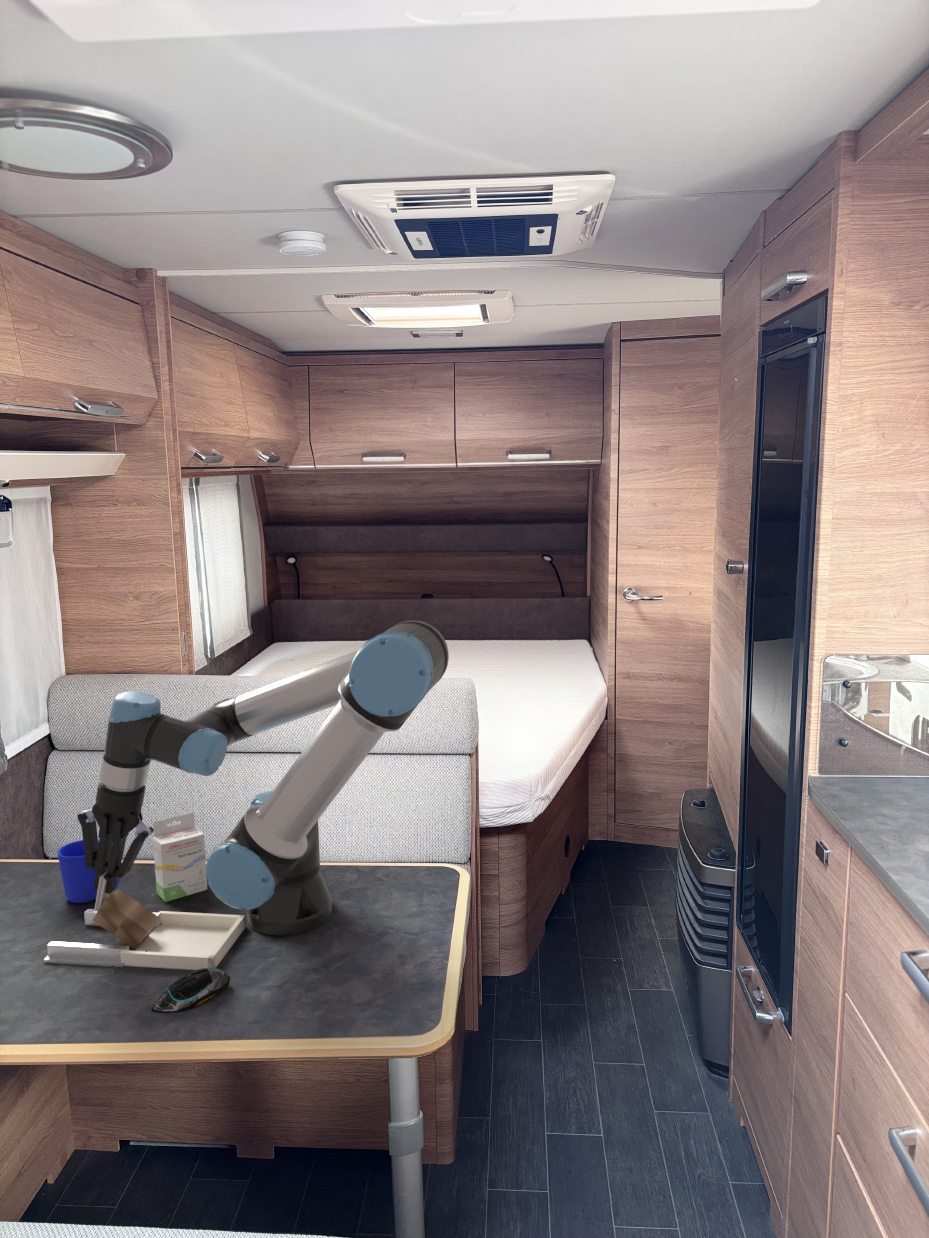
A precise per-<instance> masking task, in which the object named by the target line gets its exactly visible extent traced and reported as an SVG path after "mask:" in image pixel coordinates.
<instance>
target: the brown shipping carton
mask: <svg viewBox="0 0 929 1238" xmlns="http://www.w3.org/2000/svg"><path fill="white" fill-rule="evenodd" d="M139 903H140V902H138V901H137V900H135V899H134V898H133V897H131V896H130V895H128V894H127V893H125V891H122V890H121V889H119V888H116V889H115V890H114V891H113V892H112V893H111V894H109V897H108V898H107V899H106V900H105V901H104V902H103V904H102V905H101V907H100V909H99V910H98V912H97V913H96V915H95V917H94V918H93V921H94V922H95V923H97V924H98V925H100V926H99V927H101V928H103V929H104V930H105V931H107V932H108V933H110V934H111V935H112V936H114V934H115V933H116V931H117V929H118V928H119V926H120V925H121V923H122V922H123V920H124V918H125V917H126V916H127V915H128V914H129V913H130V912H131V911H132V910H133V909H134V908H135V907H136V906H137V905H138V904H139Z"/></svg>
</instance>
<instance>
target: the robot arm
mask: <svg viewBox="0 0 929 1238" xmlns="http://www.w3.org/2000/svg"><path fill="white" fill-rule="evenodd" d="M448 665H449V647H448V644H447V642H446V640H445V638H444V636H443V635H442V634H441V632H440V631H439V630H438V629H437V628H436V627H434V626H432V625H431V624H429V623H427V622H425V621H421V620H406V621H401V622H398V623H396V624H395V625H393V626H392V627H390V628H388V629H387V630H385V631H384V632H382V633H380V634H377V635H375V636H373V637H371V638H369V639H367V640H366V641H364V643H363V645H361V647H360V648H359V649H357V650H354V651H352V652H348V653H347V654H344V655H342V656H339V657H336V658H333V659H331V660H329V661H326V662H322V663H321V664H318V665H315V666H313V667H310V668H307V669H304V670H302V671H299V672H296V673H294V674H292V675H289V676H287V677H284V678H281V679H279V680H276V681H274V682H271V683H268V684H265V685H263V686H259V687H257V688H255V689H253V690H250V691H247V692H245V693H242V694H240V695H237V696H235V697H228V698H224V699H222V700H220V701H217V702H215V703H214V704H212V706H210V707H208V708H207V709H205V710H203V711H201V712H199V713H198V714H195V715H194V716H192V717H189V718H188V719H186V720H183V719H179V718H175V717H172V716H169V715H167V714H164V713H161V710H162V709H161V700H160V699H159V698H158V697H155V695H153V694H151V693H149V692H148V693H147V692H143V691H135V690H134V691H133V690H132V691H125V692H124V691H123V692H122V693H119V694H117V695H116V696H115V697H114V698H113V701H112V705H111V709H110V714H109V717H108V718H107V721H108V723H107V726H108V727H107V731H106V739H105V746H104V751H103V757H102V762H101V767H100V772H99V775H98V776H99V777H98V778H99V781H98V783H97V788H96V789H97V791H96V795H95V803H94V804H93V806H92V807H91V808H86V809H84V810H83V811H81V812H80V813H79V814H77V817H76V818H77V820H78V822H79V824H80V826H81V832H82V833H81V834H82V840H83V845H84V854H85V864H86V867H87V868H89V869H90V868H91V869H93V870H94V871H95V873H96V874H95V880H94V886H93V887H94V890H97V897H96V899H95V903H94V904H95V905H94V908H93V909H94V911H98V910H99V909H100V907H101V905H102V904H103V902H104V901H105V900H106V899H107V898H108V897H109V896H110V895H111V894H113V893H114V892H115V891H116V889H117V888H116V883H117V877H119V878H120V879H122V878H123V877H124V876H125V875H127V874H128V873H130V871H131V869H132V867H133V865H134V863H135V861H136V859H137V857H138V855H139V853H140V851H141V849H142V847H143V846H144V843H145V842H146V839H147V838H148V837H150V835H151V834H152V833H153V834H154V830H153V826H147V825H146V824H145V823H144V822H143V819H144V817H143V814H142V808H143V805H144V800H145V799H144V798H145V794H146V788H147V787H146V784H147V782H148V776H149V769H150V764H151V761H156V762H158V763H161V764H164V765H167V766H170V767H173V768H175V769H177V770H178V769H179V770H181V771H184V772H185V773H188V774H195V775H200V776H203V777H210V776H212V775H214V774H216V772H217V771H218V770H219V767H221V766H222V765H223V762H224V760H225V757H226V755H227V750H228V747H229V746H230V745H232V744H234V743H237V742H240V741H243V740H246V739H248V738H251V737H253V736H255V735H258V734H260V733H263V732H266V731H268V730H271V729H275V728H278V727H279V726H283V725H285V724H288V723H291V722H294V721H296V720H299V719H302V718H304V717H308V716H310V715H313V714H316V713H317V712H321V711H324V710H327V709H330V708H332V707H334V708H333V709H331V711H330V713H329V714H328V716H327V717H326V719H325V720H324V721H323V723H322V724H321V725H320V726H319V728H318V730H317V731H316V732H315V733H314V735H313V736H312V738H311V739H310V740H309V742H308V743H307V745H305V746H304V748H303V750H302V751H301V753H299V755H298V756H297V758H296V759H295V761H294V762H293V763H292V765H291V766H290V767H289V768H288V770H287V771H286V772H285V774H284V776H283V777H282V779H280V780H279V783H278V784H277V785H276V786H275V788H274V789H273V790H271V791H266V792H265V791H264V792H261V793H259V794H256V795H254V796H253V797H252V798H251V800H250V805H249V808H248V809H247V810H246V812H245V813H244V814H243V815H242V817H241V819H240V820H239V821H238V823H237V824H236V825H235V827H234V828H233V829H232V831H231V832H230V833H229V834H228V836H227V837H226V838H225V839H224V841H223V842H222V843H220V844H218V845H217V846H215V847H214V848H213V850H212V851H211V853H210V855H209V857H208V858H207V859H206V877H207V880H208V881H207V885H208V886H209V888H210V889H211V891H212V893H213V894H214V895H215V897H216V898H217V899H219V900H220V901H221V902H222V903H224V904H225V905H226V906H228V907H231V908H233V909H236V910H246V914H247V923H248V925H249V926H250V929H252V930H254V931H256V932H257V933H261V934H264V935H268V936H283V937H284V936H293V935H299V934H302V933H306V932H309V931H312V930H314V929H317V928H319V927H320V926H322V925H323V924H324V923H326V922H327V921H328V920H329V918H330V917H331V916H332V912H333V911H332V910H333V908H332V907H333V905H332V904H333V903H332V897H331V894H330V892H329V890H328V887H327V883H326V882H325V879H324V877H323V875H322V871H321V858H320V857H321V856H320V836H319V835H320V833H319V819H320V818H321V817H322V815H323V814H324V813H325V812H326V810H327V808H328V807H329V806H330V805H331V804H332V802H333V801H334V800H335V798H336V797H337V796H338V794H339V793H340V792H341V790H343V788H344V786H345V785H346V784H347V782H348V781H349V780H350V778H351V777H352V776H353V775H354V774H355V772H356V771H357V769H358V768H359V767H360V765H361V764H362V763H363V761H364V760H365V759H366V757H368V755H369V753H370V752H371V751H372V750H373V748H374V747H375V746H376V744H377V743H378V742H379V741H380V739H381V738H382V737H383V735H384V734H385V733H388V732H398V731H399V730H400V729H401V727H402V726H403V725H404V724H405V723H406V722H407V720H408V719H409V717H410V716H411V715H412V714H413V712H414V711H415V709H416V708H417V707H418V706H419V704H420V703H421V702H422V701H423V700H424V698H425V697H426V696H427V694H428V693H429V692H430V691H431V690H432V688H434V687H435V685H437V683H438V682H439V681H441V679H442V678H443V676H444V674H445V673H446V670H447V668H448ZM97 825H98V826H97ZM97 827H99V829H98V828H97ZM134 829H136V830H135V833H134V839H133V840H132V842H131V843H130V846H129V847H128V849H127V851H126V854H125V856H124V851H125V847H126V841H127V839H128V836H129V834H130V832H131V831H132V830H134ZM98 838H99V839H98ZM98 840H99V845H98ZM115 888H116V889H115Z"/></svg>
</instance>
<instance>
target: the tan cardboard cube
mask: <svg viewBox="0 0 929 1238" xmlns="http://www.w3.org/2000/svg"><path fill="white" fill-rule="evenodd" d="M138 903H139V904H138V905H137V906H136V907H135V908H134V909H133V910H132V911H131V912H130V913H129V914H128V915H127V916H126V917H125V918H124V920H123V922H122V923H121V925H120V926H119V928H118V929H117V931H116V933H115V934H114V935H113V936H114V937H116V939H118V940H120V941H121V942H122V943H124V945H125V944H126V946H129V948H131V949H132V950H133V951H135V950H136V949H137V948H138V947H139V946H140V944H141V943H142V942H143V941H144V940H145V939H146V938H147V937H148V936H149V935H150V934H151V933H152V931H153V930H154V927H155V925H156V924H157V922H158V921H159V919H160V918H159V917H158V916H157V915H155V914H154V913H152V912H153V911H152V910H150V909H148V908H146V907H145V906H144V905H142V904H141V903H140V902H138Z"/></svg>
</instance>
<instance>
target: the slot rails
mask: <svg viewBox="0 0 929 1238" xmlns="http://www.w3.org/2000/svg"><path fill="white" fill-rule="evenodd" d="M94 909H95V908H87V909H86V910H85V911H84V913H83V914H84V925H85V926H95V927H96V926H98V927H101V926H100V925H98V924H97V923H95V922H94V921H93V918H94V917H95V915H96V913H97V912H98V911H94ZM151 912H152V913H154V914H155V915H157V916H158V917H159V918H160V919H159V921H158V922H157V924H156V925H155V927H154V928H153V930H154V929H155V928H159V927H160V926H161V925H162V924H161V913H159V912H153V911H151ZM46 950H47V956H46V957H45V958H44V959H43V963H44V964H58V965H59V964H61V965H76V966H78V965H79V966H94V967H95V966H96V967H110V966H111V968H112V966H114V968H124V967H125V966H124V963H121V957H120V952H121V951H122V950H130V947H129V946H128V945H122V944H121V945H120V944H103V943H87V942H86V943H85V942H84V943H83V942H69V941H68V942H67V941H53V940H51V941H50V942H48V944H47V945H46ZM123 966H124V967H123Z"/></svg>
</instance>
